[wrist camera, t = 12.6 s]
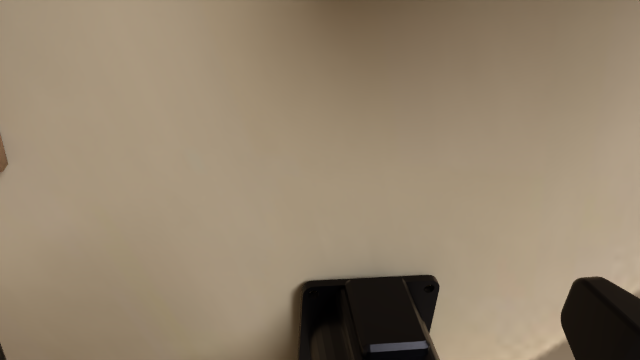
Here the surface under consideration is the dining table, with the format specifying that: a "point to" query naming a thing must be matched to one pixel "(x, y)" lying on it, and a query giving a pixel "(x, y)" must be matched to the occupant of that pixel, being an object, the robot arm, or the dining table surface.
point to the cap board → (2, 157)
